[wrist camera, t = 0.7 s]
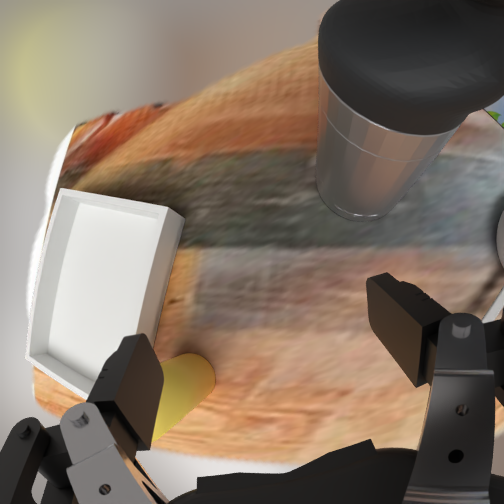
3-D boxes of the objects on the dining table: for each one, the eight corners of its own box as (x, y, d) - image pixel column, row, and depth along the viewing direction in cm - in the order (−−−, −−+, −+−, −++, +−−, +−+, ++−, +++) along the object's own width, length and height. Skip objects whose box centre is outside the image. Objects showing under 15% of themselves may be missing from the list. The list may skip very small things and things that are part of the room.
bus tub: (82, 198, 36) (60, 188, 32) (185, 219, 33) (168, 207, 28) (48, 355, 34) (25, 358, 29) (141, 407, 30) (121, 419, 26)
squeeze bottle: (174, 346, 31) (92, 370, 17) (220, 362, 30) (158, 402, 16) (165, 389, 30) (85, 432, 17) (209, 406, 29) (147, 465, 16)
